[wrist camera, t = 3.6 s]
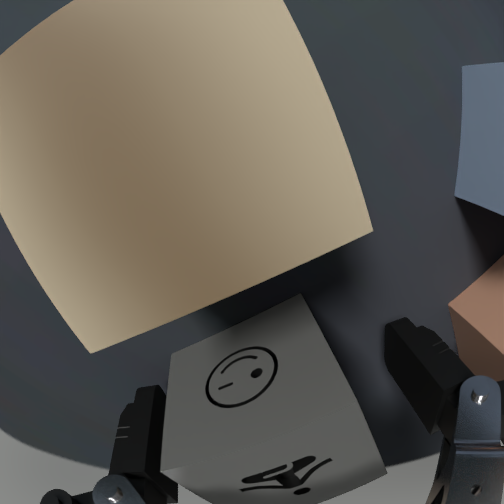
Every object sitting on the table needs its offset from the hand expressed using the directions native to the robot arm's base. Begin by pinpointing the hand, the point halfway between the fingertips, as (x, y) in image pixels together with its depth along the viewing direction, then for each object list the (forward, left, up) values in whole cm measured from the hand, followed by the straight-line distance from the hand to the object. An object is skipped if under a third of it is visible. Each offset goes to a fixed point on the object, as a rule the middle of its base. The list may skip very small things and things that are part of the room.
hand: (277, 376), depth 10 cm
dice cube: (0, +1, -1) cm, 2 cm away
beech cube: (+1, -8, -1) cm, 8 cm away
